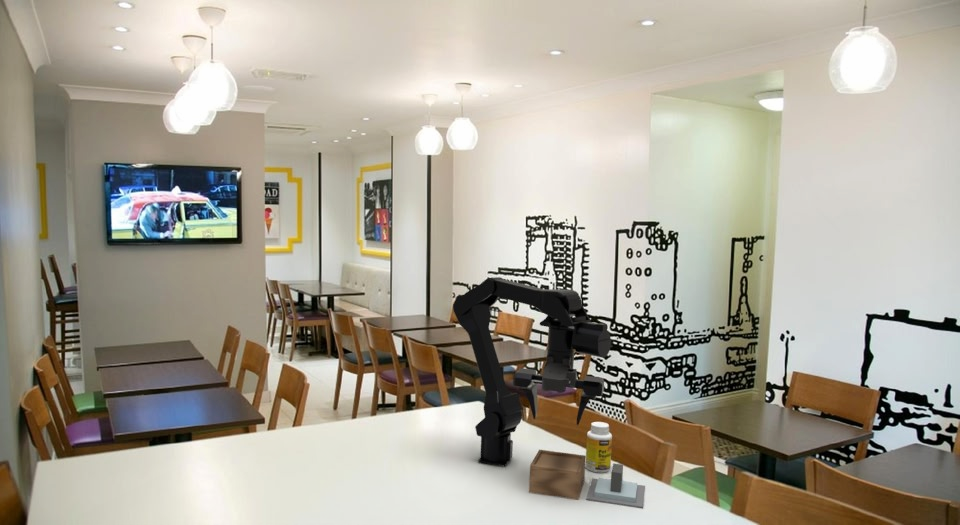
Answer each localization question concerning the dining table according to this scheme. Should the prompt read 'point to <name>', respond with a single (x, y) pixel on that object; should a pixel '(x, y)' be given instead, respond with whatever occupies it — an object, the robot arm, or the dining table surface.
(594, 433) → the supplement bottle
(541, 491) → the walnut box
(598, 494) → the lid
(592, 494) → the mat
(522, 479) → the dining table surface
